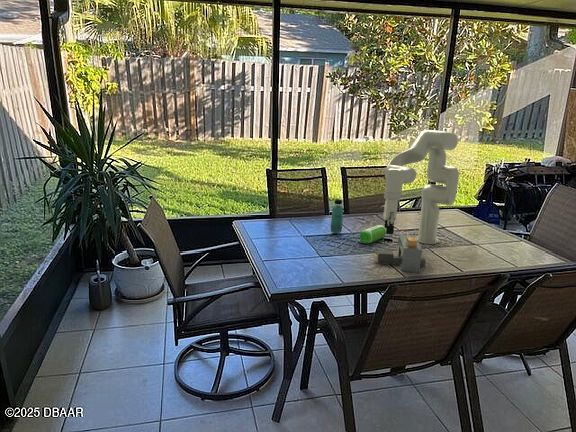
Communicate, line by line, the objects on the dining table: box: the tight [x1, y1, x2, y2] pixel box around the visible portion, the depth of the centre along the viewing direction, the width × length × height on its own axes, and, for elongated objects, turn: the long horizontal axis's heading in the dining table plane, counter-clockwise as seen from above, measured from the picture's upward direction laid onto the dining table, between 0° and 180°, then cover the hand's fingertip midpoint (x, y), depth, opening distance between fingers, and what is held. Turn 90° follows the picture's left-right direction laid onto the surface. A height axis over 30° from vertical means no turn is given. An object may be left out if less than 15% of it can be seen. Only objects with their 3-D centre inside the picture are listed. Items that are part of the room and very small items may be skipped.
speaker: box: [359, 224, 387, 244], centre depth 231 cm, size 18×7×8 cm, turn 137°
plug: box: [372, 249, 427, 267], centre depth 200 cm, size 5×24×5 cm, turn 82°
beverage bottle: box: [330, 198, 344, 234], centre depth 237 cm, size 6×7×20 cm
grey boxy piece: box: [396, 234, 423, 273], centre depth 199 cm, size 20×8×14 cm, turn 172°
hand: (388, 230), depth 197 cm, fingers open, 9 cm apart
